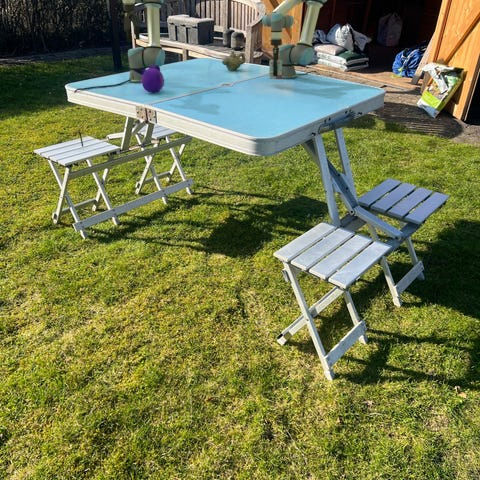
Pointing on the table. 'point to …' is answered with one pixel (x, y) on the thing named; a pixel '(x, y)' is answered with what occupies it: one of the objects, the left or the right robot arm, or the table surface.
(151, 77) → the toy
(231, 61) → the teapot
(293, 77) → the right robot arm
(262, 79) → the table surface
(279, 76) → the ink box
